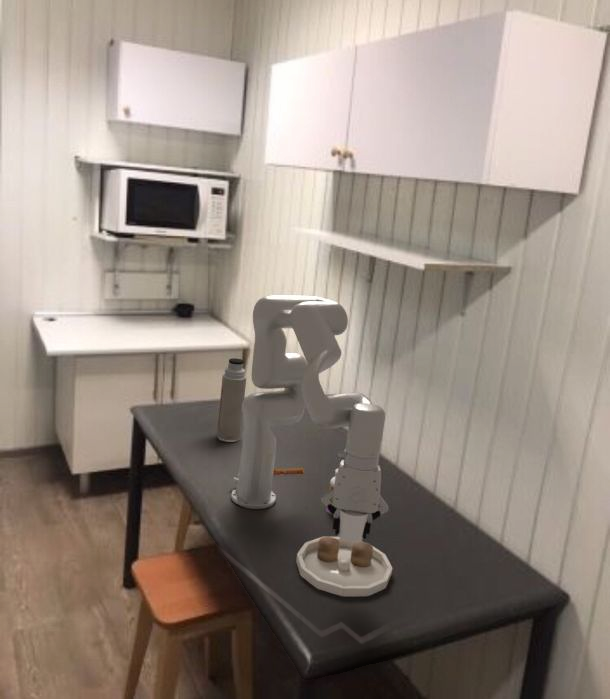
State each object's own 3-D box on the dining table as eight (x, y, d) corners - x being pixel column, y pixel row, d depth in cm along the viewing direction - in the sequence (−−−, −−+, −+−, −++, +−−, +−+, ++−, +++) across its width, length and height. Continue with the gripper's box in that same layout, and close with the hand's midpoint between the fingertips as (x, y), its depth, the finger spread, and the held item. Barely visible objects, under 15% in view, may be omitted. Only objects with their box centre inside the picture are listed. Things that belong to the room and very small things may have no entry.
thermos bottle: (214, 440, 232) (221, 360, 225) (220, 432, 240) (227, 355, 233) (237, 444, 231) (245, 364, 224) (242, 435, 239) (250, 358, 232)
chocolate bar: (304, 476, 214) (305, 469, 214) (268, 477, 210) (268, 471, 209) (301, 472, 217) (302, 465, 216) (265, 474, 212) (266, 467, 212)
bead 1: (312, 554, 168) (314, 540, 167) (327, 549, 171) (329, 534, 170) (326, 564, 164) (328, 549, 163) (341, 558, 167) (343, 544, 166)
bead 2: (346, 559, 167) (348, 544, 166) (360, 554, 171) (362, 539, 170) (360, 569, 164) (362, 554, 163) (374, 563, 167) (377, 549, 166)
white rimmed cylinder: (363, 529, 158) (367, 502, 157) (367, 545, 152) (371, 516, 150) (334, 527, 158) (337, 499, 156) (336, 543, 151) (340, 514, 150)
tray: (278, 562, 164) (279, 551, 164) (344, 538, 179) (345, 528, 178) (341, 611, 149) (343, 599, 148) (408, 581, 163) (410, 570, 162)
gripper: (321, 460, 147) (311, 536, 151) (401, 472, 146) (389, 548, 151) (323, 447, 154) (313, 520, 159) (399, 458, 154) (387, 531, 158)
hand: (350, 533), depth 155 cm, fingers closed on white rimmed cylinder, 5 cm apart
